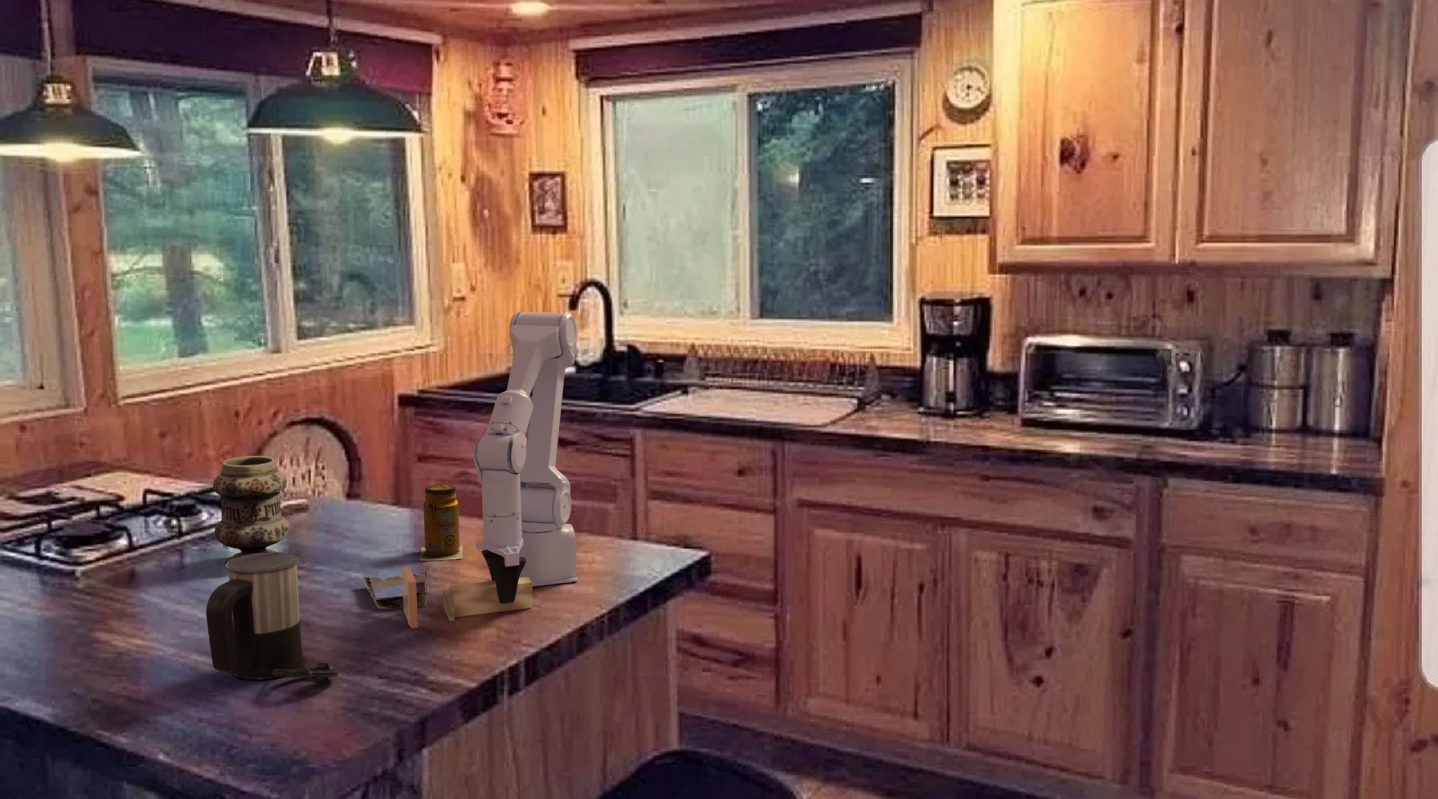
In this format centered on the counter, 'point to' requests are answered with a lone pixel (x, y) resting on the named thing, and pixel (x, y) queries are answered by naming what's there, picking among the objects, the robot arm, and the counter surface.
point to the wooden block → (484, 598)
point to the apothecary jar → (250, 505)
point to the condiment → (441, 524)
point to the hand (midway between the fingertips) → (504, 598)
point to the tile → (409, 597)
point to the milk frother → (260, 620)
